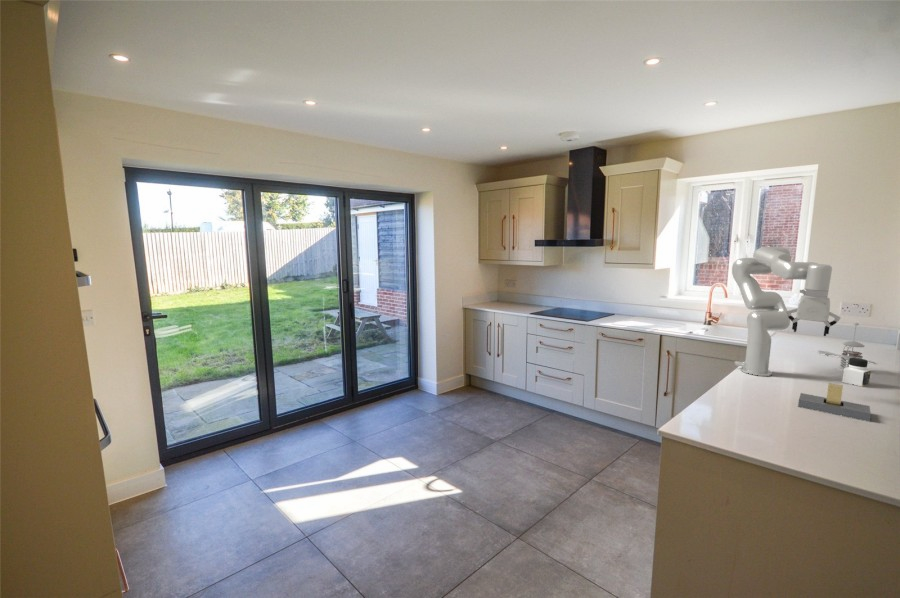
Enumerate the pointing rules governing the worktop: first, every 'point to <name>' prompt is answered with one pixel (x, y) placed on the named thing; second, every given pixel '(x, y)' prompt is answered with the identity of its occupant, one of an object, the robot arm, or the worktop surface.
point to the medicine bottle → (857, 372)
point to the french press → (850, 352)
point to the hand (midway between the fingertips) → (809, 333)
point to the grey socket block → (835, 407)
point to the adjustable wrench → (836, 355)
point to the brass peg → (834, 394)
